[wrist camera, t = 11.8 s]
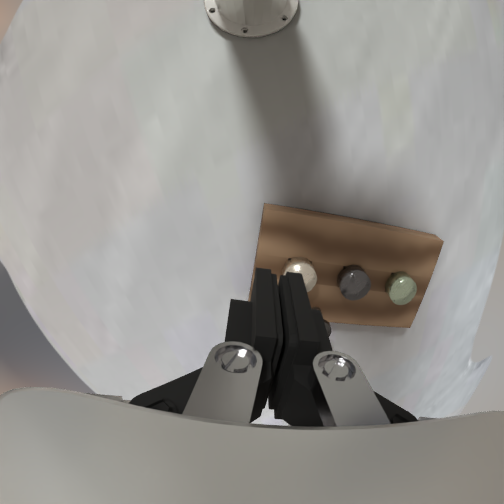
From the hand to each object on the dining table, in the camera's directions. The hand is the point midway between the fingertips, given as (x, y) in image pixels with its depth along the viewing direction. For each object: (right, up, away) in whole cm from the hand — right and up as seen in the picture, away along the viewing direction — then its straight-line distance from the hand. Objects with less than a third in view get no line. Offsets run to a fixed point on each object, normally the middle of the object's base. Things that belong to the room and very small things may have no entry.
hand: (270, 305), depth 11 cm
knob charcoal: (+14, -1, +34) cm, 37 cm away
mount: (+14, -1, +35) cm, 37 cm away
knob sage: (+22, -2, +35) cm, 41 cm away
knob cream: (+6, 0, +34) cm, 35 cm away
